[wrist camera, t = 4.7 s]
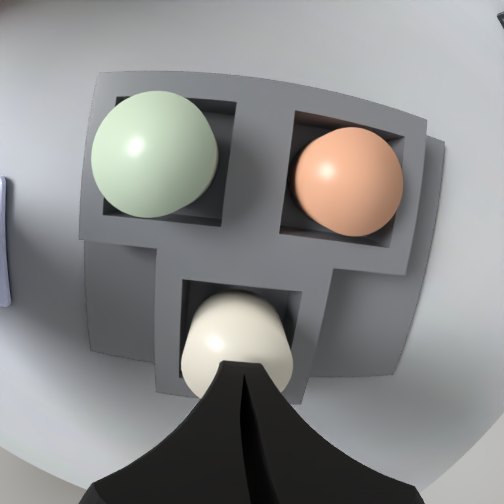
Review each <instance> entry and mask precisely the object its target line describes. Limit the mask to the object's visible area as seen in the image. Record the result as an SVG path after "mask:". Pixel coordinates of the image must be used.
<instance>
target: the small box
mask: <svg viewBox="0 0 504 504" xmlns="http://www.w3.org/2000/svg"><path fill="white" fill-rule="evenodd" d="M497 17H498V19H499V21H500V23H501V24H502V26H503V28H504V12H501V13H499V14H497Z"/></svg>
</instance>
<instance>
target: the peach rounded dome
mask: <svg viewBox="0 0 504 504" xmlns="http://www.w3.org/2000/svg"><path fill="white" fill-rule="evenodd" d="M289 189H290V193H291V196H292V198H293V200H294V202H295V204H296V206H297V207H298V208H299V209H300V211H301V212H302V213H303V214H304V215H306V216H307V217H308V218H310V219H312V220H314V221H315V222H317V223H319V224H321V225H323V226H325V227H327V228H328V229H330V230H332V231H334V232H336V233H339V234H342V235H346V236H363V235H367V234H370V233H373V232H375V231H377V230H379V229H380V228H382V227H383V226H384V225H385V224H386V223H387V222H388V221H389V220H390V219H391V218H392V217H393V215H394V214H395V212H396V210H397V208H398V206H399V204H400V201H401V197H402V192H403V175H402V170H401V166H400V163H399V161H398V158H397V156H396V154H395V153H394V151H393V150H392V148H391V147H390V146H389V145H388V144H387V142H386V141H384V140H383V139H382V138H381V137H379V136H378V135H376V134H375V133H373V132H371V131H368V130H365V129H362V128H356V127H347V128H341V129H337V130H334V131H332V132H330V133H328V134H326V135H324V136H321V137H319V138H317V139H315V140H313V141H311V142H309V143H308V144H306V145H305V146H304V147H303V148H301V149H300V151H299V152H298V153H297V154H296V156H295V157H294V159H293V161H292V164H291V167H290V171H289Z"/></svg>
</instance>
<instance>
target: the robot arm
mask: <svg viewBox="0 0 504 504" xmlns="http://www.w3.org/2000/svg"><path fill="white" fill-rule="evenodd" d="M5 195H6V180H5V178H4V177H3V176H0V306H2V307H7V306H9V305H10V304H11V296H10V289H9V280H8V270H7V257H6V238H5ZM79 504H425V503H424V501H423V499H422V497H421V496H420V494H419V492H418V491H417V489H416V488H415V486H412V485H409V484H406V483H404V482H401V481H398V480H396V479H393V478H390V477H388V476H385V475H383V474H381V473H378V472H376V471H374V470H372V469H371V468H369V467H367V466H365V465H363V464H361V463H359V462H357V461H356V460H354V459H352V458H351V457H349V456H348V455H346V454H345V453H343V452H342V451H340V450H339V449H337V448H336V447H334V446H333V445H332V444H330V443H329V442H328V441H326V440H325V439H324V438H323V437H322V436H320V435H319V434H318V433H317V432H316V431H315V430H313V429H312V428H311V427H310V426H309V425H308V424H307V423H306V422H305V421H304V420H303V419H302V418H301V417H300V415H299V414H298V413H297V412H296V411H295V410H294V409H293V407H292V406H291V405H290V404H289V403H288V401H287V400H286V399H285V397H284V396H283V395H282V394H281V392H280V391H279V390H278V388H277V387H276V385H275V384H274V382H273V381H272V379H271V378H270V376H269V375H268V373H267V371H266V370H265V368H264V366H263V365H262V364H261V363H250V362H238V361H227V360H223V361H221V362H220V363H219V367H218V370H217V372H216V375H215V377H214V379H213V381H212V382H211V384H210V386H209V387H208V389H207V391H206V392H205V394H204V395H203V397H202V398H201V400H200V401H199V402H198V404H197V405H196V406H195V407H194V409H193V410H192V411H191V413H190V414H189V415H188V416H187V417H186V418H185V420H184V421H183V422H182V423H181V424H180V425H179V426H178V427H177V428H176V429H175V430H174V431H173V432H172V433H171V434H169V435H168V436H167V437H166V438H165V439H164V440H163V441H162V442H160V443H159V444H158V445H157V446H155V447H154V448H153V449H152V450H150V451H149V452H147V453H146V454H144V455H143V456H141V457H140V458H138V459H137V460H135V461H134V462H132V463H131V464H129V465H128V466H126V467H124V468H122V469H120V470H118V471H116V472H114V473H112V474H110V475H108V476H106V477H104V478H102V479H100V480H98V481H96V482H94V483H92V484H91V485H90V487H89V488H88V490H87V491H86V493H85V494H84V496H83V497H82V499H81V501H80V503H79Z"/></svg>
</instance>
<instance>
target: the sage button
mask: <svg viewBox="0 0 504 504" xmlns="http://www.w3.org/2000/svg"><path fill="white" fill-rule="evenodd" d="M91 164H92V171H93V176H94V179H95V182H96V184H97V186H98V188H99V190H100V191H101V193H102V194H103V196H104V197H105V198H106V199H107V200H108V202H110V203H111V204H112V205H113V206H114V207H116V208H117V209H119V210H120V211H122V212H125V213H127V214H129V215H133V216H137V217H144V218H152V217H160V216H164V215H167V214H170V213H173V212H175V211H177V210H179V209H181V208H182V207H184V206H186V205H188V204H190V203H192V202H194V201H195V200H197V199H198V198H200V197H201V196H202V195H203V194H204V193H205V192H206V191H207V189H208V188H209V187H210V185H211V184H212V182H213V180H214V178H215V176H216V173H217V170H218V165H219V149H218V144H217V141H216V139H215V136H214V134H213V132H212V130H211V128H210V126H209V124H208V122H207V120H206V118H205V116H204V115H203V114H202V112H201V111H200V110H199V109H198V108H197V107H196V106H195V105H194V104H193V103H192V102H190V101H189V100H187V99H186V98H184V97H182V96H180V95H177V94H175V93H171V92H166V91H148V92H143V93H140V94H136V95H134V96H132V97H129V98H127V99H126V100H124V101H122V102H121V103H119V104H118V105H117V106H116V107H114V108H113V109H112V110H111V111H110V112H109V114H108V115H107V116H106V117H105V119H104V120H103V121H102V123H101V125H100V126H99V128H98V131H97V133H96V135H95V138H94V142H93V146H92V154H91Z"/></svg>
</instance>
